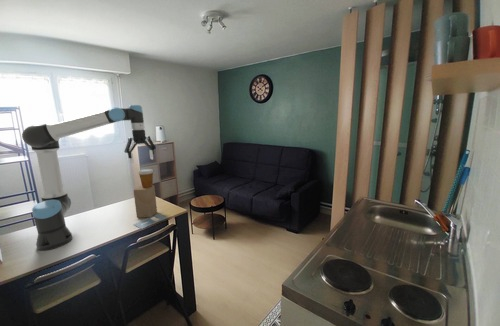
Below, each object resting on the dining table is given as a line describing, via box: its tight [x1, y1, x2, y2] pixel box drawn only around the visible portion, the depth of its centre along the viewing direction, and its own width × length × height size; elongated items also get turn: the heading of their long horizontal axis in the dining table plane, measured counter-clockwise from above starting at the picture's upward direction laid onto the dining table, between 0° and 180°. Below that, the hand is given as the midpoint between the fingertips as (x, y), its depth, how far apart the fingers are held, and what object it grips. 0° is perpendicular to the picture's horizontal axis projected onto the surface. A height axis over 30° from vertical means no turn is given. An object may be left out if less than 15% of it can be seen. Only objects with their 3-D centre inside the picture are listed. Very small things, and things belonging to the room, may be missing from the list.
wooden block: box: [133, 185, 158, 218], centre depth 153 cm, size 10×10×20 cm
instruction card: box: [133, 213, 168, 230], centre depth 146 cm, size 18×10×1 cm, turn 145°
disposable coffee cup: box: [138, 168, 154, 188], centre depth 152 cm, size 10×10×12 cm
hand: (142, 161), depth 148 cm, fingers open, 13 cm apart
